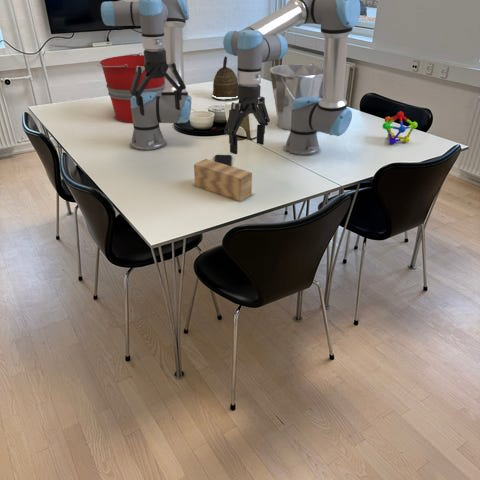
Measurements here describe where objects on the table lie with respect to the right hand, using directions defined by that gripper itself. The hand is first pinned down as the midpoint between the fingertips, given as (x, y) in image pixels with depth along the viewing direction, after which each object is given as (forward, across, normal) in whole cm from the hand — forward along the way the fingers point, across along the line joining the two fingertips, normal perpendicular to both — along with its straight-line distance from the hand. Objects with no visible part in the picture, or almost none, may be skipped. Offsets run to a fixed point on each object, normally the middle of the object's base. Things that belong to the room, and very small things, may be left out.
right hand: (247, 148), depth 152 cm
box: (+18, -2, +10) cm, 21 cm away
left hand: (-8, -10, +34) cm, 36 cm away
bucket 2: (+17, +81, +38) cm, 91 cm away
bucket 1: (+18, +34, +111) cm, 118 cm away
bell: (+17, +97, +104) cm, 143 cm away
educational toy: (+17, +92, -14) cm, 94 cm away
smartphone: (+18, +17, +29) cm, 38 cm away
